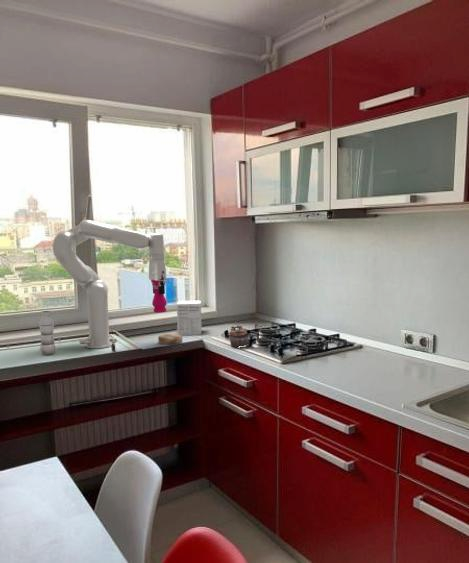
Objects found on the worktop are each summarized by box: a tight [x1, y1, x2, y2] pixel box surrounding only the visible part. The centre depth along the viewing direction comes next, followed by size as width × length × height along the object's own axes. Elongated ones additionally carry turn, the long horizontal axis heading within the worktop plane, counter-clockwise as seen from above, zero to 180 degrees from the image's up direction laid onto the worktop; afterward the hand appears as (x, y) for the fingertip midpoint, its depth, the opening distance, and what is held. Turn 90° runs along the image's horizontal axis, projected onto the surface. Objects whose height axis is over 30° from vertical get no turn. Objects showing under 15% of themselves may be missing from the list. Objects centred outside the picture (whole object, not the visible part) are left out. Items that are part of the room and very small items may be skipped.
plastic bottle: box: [38, 310, 56, 356], centre depth 212 cm, size 6×7×20 cm
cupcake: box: [228, 324, 250, 349], centre depth 224 cm, size 10×10×10 cm
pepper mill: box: [151, 279, 168, 314], centre depth 234 cm, size 7×7×20 cm
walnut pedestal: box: [157, 333, 183, 346], centre depth 236 cm, size 12×12×3 cm
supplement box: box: [176, 300, 202, 336], centre depth 259 cm, size 13×13×18 cm
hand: (159, 293), depth 234 cm, fingers closed on pepper mill, 5 cm apart
